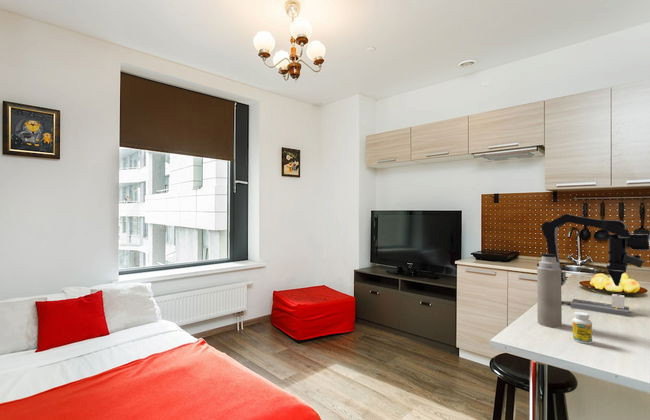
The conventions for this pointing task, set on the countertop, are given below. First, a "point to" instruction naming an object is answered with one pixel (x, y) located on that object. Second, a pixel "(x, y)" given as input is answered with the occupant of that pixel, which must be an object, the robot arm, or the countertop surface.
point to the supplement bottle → (582, 328)
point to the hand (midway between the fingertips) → (617, 284)
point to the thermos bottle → (549, 292)
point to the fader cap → (618, 301)
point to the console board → (599, 307)
